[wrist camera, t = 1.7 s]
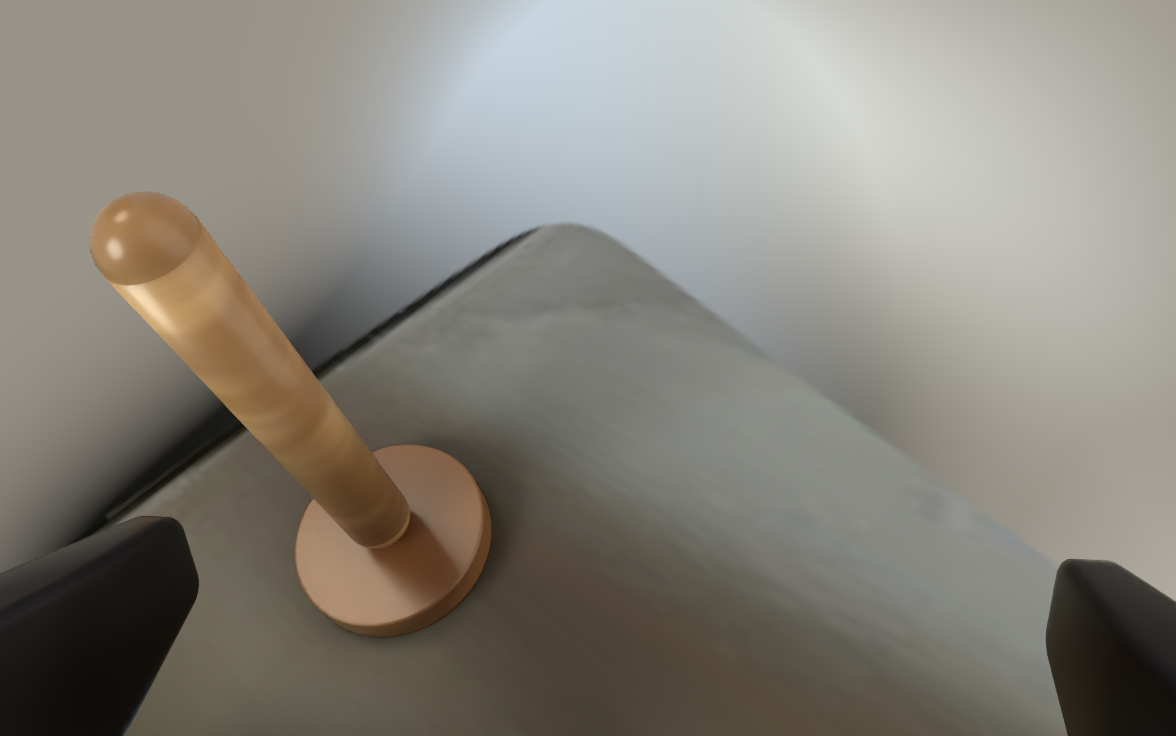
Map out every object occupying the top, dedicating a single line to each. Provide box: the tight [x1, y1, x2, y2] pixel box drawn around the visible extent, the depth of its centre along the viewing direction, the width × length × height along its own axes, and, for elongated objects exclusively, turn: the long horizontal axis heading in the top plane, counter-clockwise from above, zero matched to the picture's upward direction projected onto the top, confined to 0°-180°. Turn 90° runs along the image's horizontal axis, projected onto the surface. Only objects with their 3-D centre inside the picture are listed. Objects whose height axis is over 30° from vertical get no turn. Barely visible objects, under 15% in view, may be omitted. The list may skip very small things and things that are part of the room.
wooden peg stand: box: [90, 192, 492, 637], centre depth 20 cm, size 6×6×14 cm
